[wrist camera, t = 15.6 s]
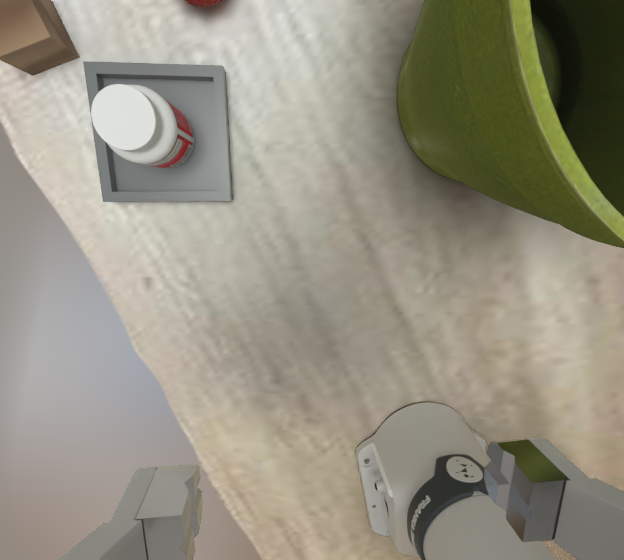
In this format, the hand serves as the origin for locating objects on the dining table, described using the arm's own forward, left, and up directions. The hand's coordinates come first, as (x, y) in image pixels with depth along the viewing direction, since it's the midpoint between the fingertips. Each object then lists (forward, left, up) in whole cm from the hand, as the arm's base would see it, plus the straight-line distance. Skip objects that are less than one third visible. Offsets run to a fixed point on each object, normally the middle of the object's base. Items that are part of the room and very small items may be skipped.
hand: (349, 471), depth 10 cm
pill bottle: (+13, +13, -34) cm, 38 cm away
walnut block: (+22, +24, -34) cm, 47 cm away
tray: (+13, +13, -34) cm, 39 cm away
